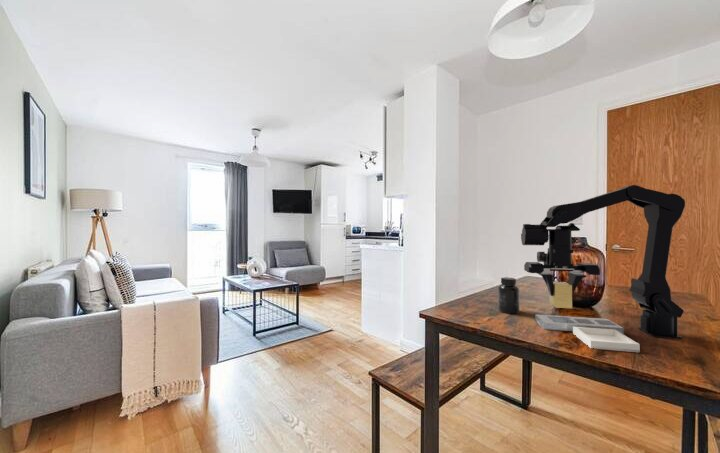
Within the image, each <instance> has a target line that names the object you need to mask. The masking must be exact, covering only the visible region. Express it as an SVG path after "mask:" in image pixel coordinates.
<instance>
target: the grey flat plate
mask: <svg viewBox="0 0 720 453" xmlns="http://www.w3.org/2000/svg"><path fill="white" fill-rule="evenodd" d="M534 321H535V322H536V323H537V324H538V325H539V326H540V327H541V328H542V329H543V330H552V331H562V332H563V331H565V332H573V327H586V328H600V329H615V330H617V331H618V332H620V333H622V334H623V335H625V333H624V332H625V331H624V327H623V326H621V325H619V324H617V323H616V322H614V321H612V320H610V319H608V318H600V317H599V318H598V317H585V316H584V317H583V316H567V315H553V314H551V315H550V314H535V315H534Z"/></svg>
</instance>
